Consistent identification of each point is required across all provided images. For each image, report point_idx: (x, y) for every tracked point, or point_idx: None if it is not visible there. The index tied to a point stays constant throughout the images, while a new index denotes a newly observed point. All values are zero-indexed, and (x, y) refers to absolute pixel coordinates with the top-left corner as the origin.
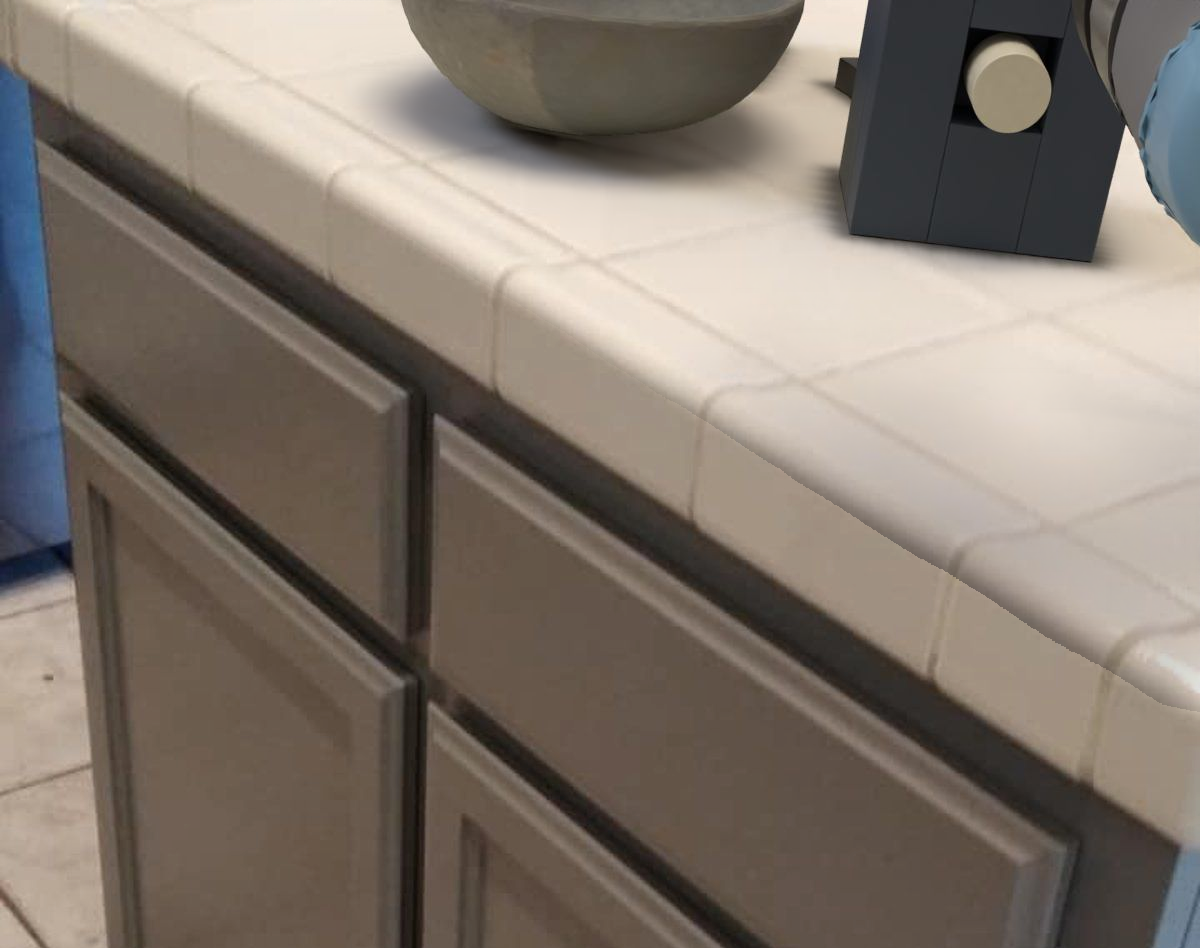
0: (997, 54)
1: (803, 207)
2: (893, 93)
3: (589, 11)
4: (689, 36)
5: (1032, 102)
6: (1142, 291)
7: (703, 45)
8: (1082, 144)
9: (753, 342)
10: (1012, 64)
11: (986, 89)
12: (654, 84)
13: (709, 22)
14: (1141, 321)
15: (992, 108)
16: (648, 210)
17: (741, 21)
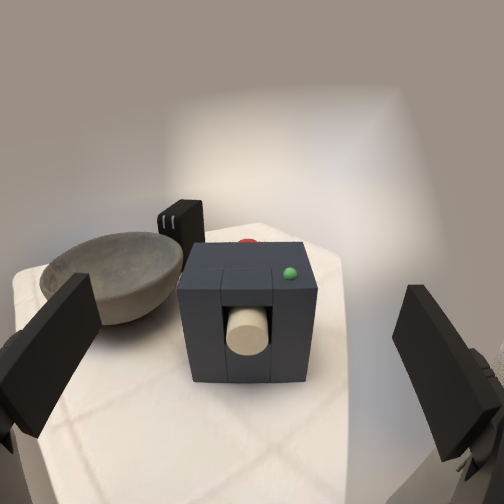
0: (235, 323)
1: (179, 359)
2: (192, 334)
3: (127, 259)
4: (114, 302)
5: (259, 343)
6: (327, 403)
7: (122, 303)
8: (292, 345)
9: (114, 500)
10: (243, 329)
11: (233, 340)
12: (110, 317)
13: (121, 294)
14: (325, 437)
15: (238, 347)
16: (110, 373)
17: (138, 289)
